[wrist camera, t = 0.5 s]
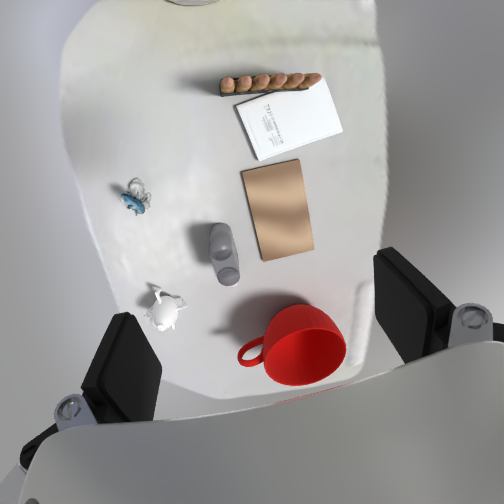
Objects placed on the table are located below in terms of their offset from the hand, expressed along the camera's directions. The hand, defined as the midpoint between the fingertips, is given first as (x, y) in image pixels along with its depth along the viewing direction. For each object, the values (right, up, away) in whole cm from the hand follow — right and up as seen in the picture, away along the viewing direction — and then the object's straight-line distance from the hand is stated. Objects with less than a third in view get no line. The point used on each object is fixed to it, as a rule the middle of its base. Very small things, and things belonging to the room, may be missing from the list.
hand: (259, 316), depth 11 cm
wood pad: (+4, +8, +33) cm, 34 cm away
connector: (-4, +3, +35) cm, 35 cm away
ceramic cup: (+5, -10, +42) cm, 44 cm away
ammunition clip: (+1, +24, +25) cm, 35 cm away
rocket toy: (-14, -6, +38) cm, 41 cm away
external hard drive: (+5, +21, +28) cm, 35 cm away
